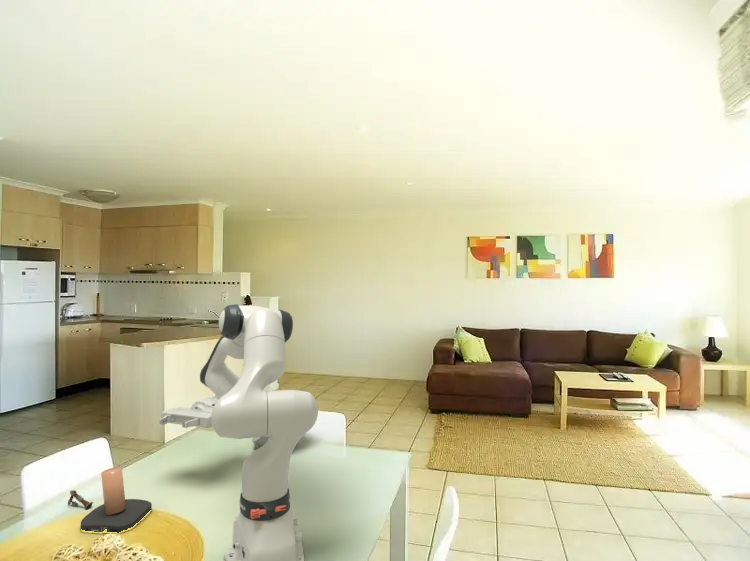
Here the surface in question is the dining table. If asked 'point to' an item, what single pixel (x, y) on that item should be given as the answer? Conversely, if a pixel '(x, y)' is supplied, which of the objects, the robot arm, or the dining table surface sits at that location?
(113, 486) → the salmon orange cylinder
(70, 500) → the brown grey jointed tubes
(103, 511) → the media streaming box
